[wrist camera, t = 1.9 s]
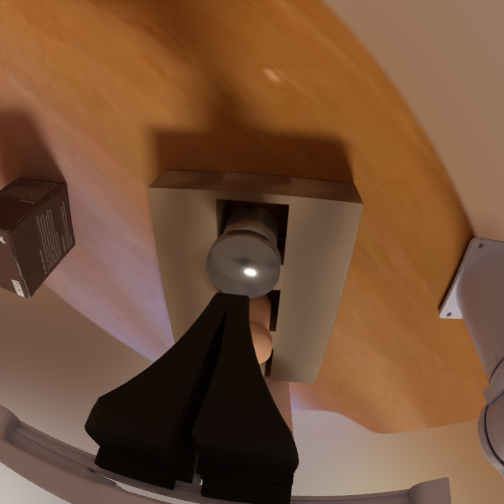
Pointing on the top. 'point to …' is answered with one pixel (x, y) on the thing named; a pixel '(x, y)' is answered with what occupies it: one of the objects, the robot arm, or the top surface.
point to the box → (32, 233)
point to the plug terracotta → (261, 326)
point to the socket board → (290, 249)
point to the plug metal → (246, 254)
